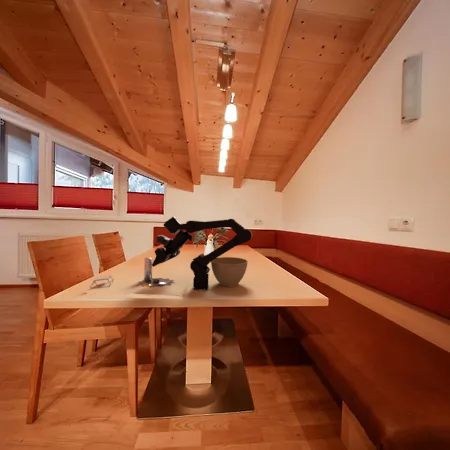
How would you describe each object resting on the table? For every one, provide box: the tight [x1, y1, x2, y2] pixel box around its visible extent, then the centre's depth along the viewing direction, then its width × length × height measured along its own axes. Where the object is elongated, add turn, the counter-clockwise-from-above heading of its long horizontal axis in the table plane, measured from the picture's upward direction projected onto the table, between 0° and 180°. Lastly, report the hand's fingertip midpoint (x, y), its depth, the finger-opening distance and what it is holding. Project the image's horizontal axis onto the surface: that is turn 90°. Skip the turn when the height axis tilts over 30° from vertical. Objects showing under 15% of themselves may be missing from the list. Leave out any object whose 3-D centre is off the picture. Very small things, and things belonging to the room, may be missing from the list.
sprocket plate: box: [137, 277, 176, 289], centre depth 114 cm, size 17×17×3 cm
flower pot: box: [210, 256, 248, 288], centre depth 119 cm, size 18×18×12 cm
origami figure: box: [89, 274, 115, 289], centre depth 108 cm, size 12×8×5 cm
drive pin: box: [143, 256, 153, 282], centre depth 116 cm, size 4×4×11 cm
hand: (156, 264), depth 115 cm, fingers open, 9 cm apart
